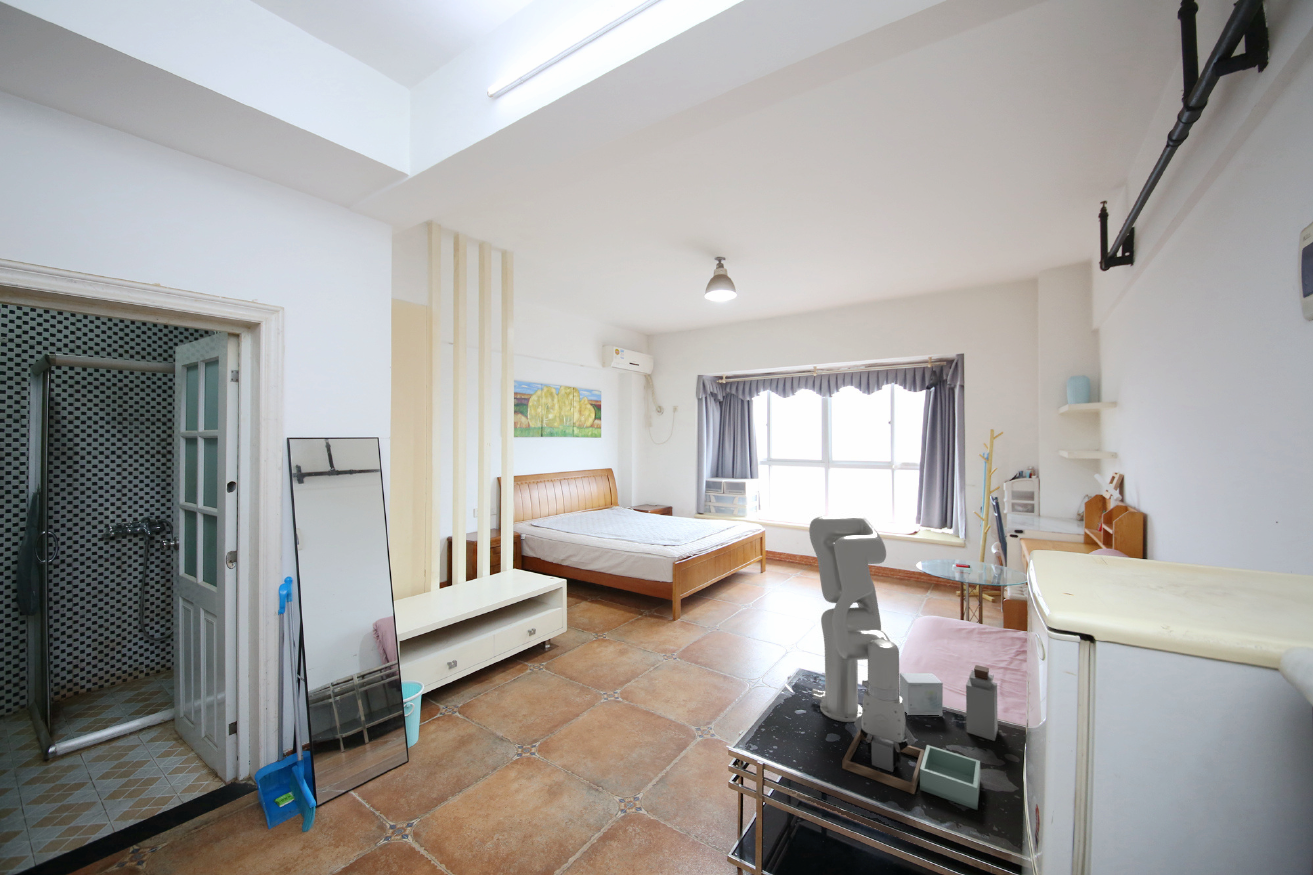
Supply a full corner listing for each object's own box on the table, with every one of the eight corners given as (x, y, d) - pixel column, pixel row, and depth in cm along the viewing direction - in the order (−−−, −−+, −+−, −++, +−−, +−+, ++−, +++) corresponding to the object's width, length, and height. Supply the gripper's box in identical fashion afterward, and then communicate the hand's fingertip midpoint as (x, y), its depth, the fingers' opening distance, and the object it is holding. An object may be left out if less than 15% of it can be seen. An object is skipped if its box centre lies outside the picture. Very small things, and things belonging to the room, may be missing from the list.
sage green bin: (920, 789, 122) (920, 768, 122) (927, 763, 131) (927, 744, 131) (977, 809, 115) (977, 787, 115) (980, 781, 124) (980, 760, 124)
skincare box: (908, 716, 153) (908, 682, 153) (899, 705, 160) (898, 672, 160) (943, 716, 153) (943, 682, 153) (932, 705, 159) (932, 672, 159)
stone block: (871, 764, 131) (871, 741, 131) (876, 754, 135) (875, 732, 135) (892, 772, 128) (892, 748, 128) (896, 761, 132) (896, 738, 132)
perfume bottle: (970, 721, 150) (969, 661, 150) (997, 729, 146) (997, 667, 146) (966, 732, 145) (966, 669, 145) (994, 741, 141) (994, 676, 141)
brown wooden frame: (842, 768, 130) (842, 760, 130) (858, 736, 143) (858, 729, 143) (914, 794, 120) (914, 785, 120) (924, 757, 134) (924, 750, 134)
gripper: (845, 686, 134) (846, 755, 134) (917, 706, 124) (918, 780, 124) (853, 675, 140) (853, 741, 140) (922, 693, 130) (923, 764, 130)
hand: (884, 759), depth 132 cm, fingers closed on stone block, 5 cm apart
